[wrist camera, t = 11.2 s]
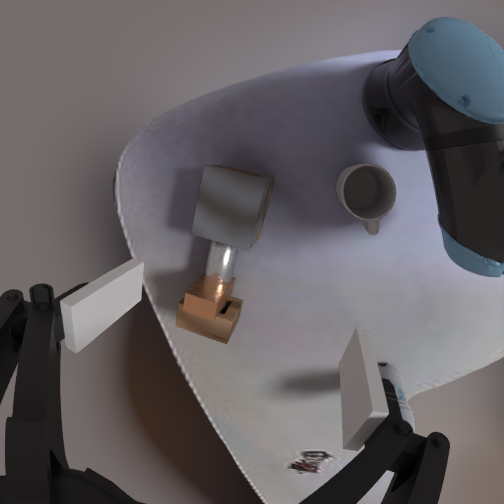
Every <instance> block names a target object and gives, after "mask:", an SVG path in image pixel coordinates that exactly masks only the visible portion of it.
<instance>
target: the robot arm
mask: <svg viewBox="0 0 504 504" xmlns="http://www.w3.org/2000/svg"><path fill="white" fill-rule="evenodd" d="M363 105H364V109H365V113H366V115H367V118H368V120H369V122H370V123H371V125H372V126H373V128H374V129H375V130H376V132H377V133H378V134H379V135H380V136H381V137H382V138H383V139H385V140H386V141H387V142H389V143H390V144H392V145H394V146H396V147H398V148H401V149H404V150H410V151H420V150H426V154H427V158H428V162H429V167H430V171H431V175H432V180H433V185H434V190H435V195H436V200H437V206H438V212H439V214H438V223H439V226H440V228H441V231H442V237H443V243H444V247H445V250H446V252H447V254H448V256H449V257H450V258H451V260H452V261H453V262H455V263H456V264H457V265H458V266H460V267H461V268H463V269H465V270H467V271H470V272H472V273H475V274H478V275H483V276H488V277H500V276H501V274H504V51H503V50H502V49H501V47H500V46H499V45H498V44H497V43H496V42H495V41H494V40H493V39H492V38H491V37H490V36H489V35H486V34H484V33H483V32H482V31H481V30H480V29H479V28H478V27H476V26H474V25H472V24H470V23H468V22H466V21H463V20H460V19H456V18H449V17H442V18H436V19H433V20H431V21H429V22H427V23H426V24H425V25H423V26H422V27H421V28H420V29H419V30H418V31H416V32H415V33H413V35H412V36H411V38H410V40H409V42H408V43H407V45H406V46H405V47H404V49H403V50H402V51H401V53H400V54H399V56H398V57H397V58H395V59H390V60H387V61H384V62H382V63H381V64H379V65H378V66H376V67H375V68H374V69H373V70H372V72H371V73H370V75H369V76H368V78H367V80H366V82H365V85H364V88H363ZM143 268H144V261H141V260H138V259H135V258H133V259H131V260H130V261H128V262H126V263H124V264H122V265H121V266H119V267H117V268H115V269H114V270H112V271H110V272H108V273H107V274H105V275H103V276H101V277H99V278H98V279H96V280H94V281H93V282H91V283H83V284H79V285H77V286H76V287H74V288H73V289H70V290H69V291H68V292H65V293H64V294H62V295H60V296H58V297H57V298H55V299H54V293H53V288H52V287H51V286H50V285H48V284H36V285H34V286H32V287H31V288H30V289H29V292H30V299H31V302H28V301H24V298H23V293H22V292H21V291H19V290H14V289H12V290H8V291H6V292H4V293H3V294H2V296H1V297H0V404H1V401H2V399H3V396H4V394H5V391H6V389H7V387H8V384H9V382H10V379H11V377H12V375H13V372H14V371H15V368H16V366H17V364H18V369H17V376H16V384H15V392H14V402H13V414H12V417H8V418H7V420H6V431H5V469H6V475H4V476H0V504H145V503H141V502H137V501H135V500H134V499H133V498H131V497H130V496H129V495H127V494H126V493H125V492H124V491H123V490H121V489H120V488H119V487H118V486H117V485H115V484H114V483H113V482H112V481H110V480H108V479H106V478H105V477H103V476H101V475H100V474H98V473H96V472H95V471H93V470H91V469H90V468H87V469H86V471H85V472H83V471H80V470H75V469H70V468H69V466H68V463H67V460H66V456H65V450H64V441H63V432H62V419H61V399H60V356H61V344H60V341H61V340H62V339H64V338H65V343H66V347H67V348H69V349H70V350H72V351H73V352H75V353H78V352H79V351H80V350H82V349H83V348H84V347H85V346H86V345H87V344H89V343H90V342H91V341H92V340H93V339H95V338H96V337H97V336H98V335H99V334H100V333H102V332H103V331H104V330H105V329H106V328H108V327H109V326H110V325H111V324H112V323H114V322H115V321H116V320H117V319H119V318H120V317H121V316H122V315H123V314H124V313H126V312H127V311H128V310H129V309H131V308H132V307H133V306H134V305H136V304H137V303H138V302H139V301H140V300H141V292H142V280H143ZM18 362H19V363H18ZM339 374H340V388H341V405H342V429H343V449H348V450H356V451H358V450H359V449H360V448H361V447H362V446H363V445H364V444H365V448H364V449H363V450H362V451H361V452H360V453H359V454H358V455H357V456H356V457H355V458H354V459H353V460H352V461H351V462H349V463H348V464H347V465H346V466H345V467H344V468H343V469H342V470H341V471H339V472H338V473H337V474H336V475H335V476H334V477H332V478H331V479H330V480H329V481H328V482H326V483H325V484H324V485H323V486H321V487H320V488H319V489H318V490H316V491H315V492H314V493H312V494H311V495H310V496H308V497H307V498H306V499H304V500H303V501H302V502H300V503H299V504H356V503H357V502H358V501H359V500H360V499H361V498H362V497H363V496H364V495H365V494H366V493H367V492H368V491H369V490H370V489H371V488H372V487H373V486H374V484H375V483H376V482H377V481H378V480H379V479H380V478H381V477H382V475H383V474H384V473H385V472H386V471H387V470H389V471H392V472H395V473H394V476H393V478H392V480H391V483H390V485H389V487H388V489H387V492H386V494H385V496H384V498H383V500H382V502H381V504H438V500H439V497H440V493H441V489H442V485H443V480H444V476H445V471H446V466H447V461H448V455H449V449H450V442H449V440H448V438H447V437H446V436H445V435H443V434H442V433H439V432H432V433H431V434H429V435H428V437H427V438H426V437H423V436H420V435H417V434H415V433H414V431H413V428H412V426H411V425H410V424H409V423H408V422H407V421H405V420H403V418H402V414H401V410H400V406H399V402H398V401H397V400H398V399H397V395H396V391H395V388H394V386H393V384H392V383H391V381H390V380H389V379H385V378H381V376H380V372H379V368H378V364H377V360H376V356H375V353H374V349H373V345H372V342H371V338H370V335H369V331H368V330H366V329H362V328H358V327H356V329H355V331H354V333H353V335H352V338H351V340H350V342H349V344H348V346H347V348H346V350H345V352H344V354H343V356H342V358H341V360H340V362H339Z"/></svg>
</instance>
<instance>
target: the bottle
mask: <svg viewBox="0 0 504 504" xmlns="http://www.w3.org/2000/svg"><path fill="white" fill-rule="evenodd" d="M378 368H379V372H380V376H381V378H385V379H389V380H390V381H391V383H392V384H393V386H394V388H395V391H396V395H397V399H398V400H397V401H398V402H399V406H400V410H401V414H402V418H403V420H405V421H407V422H408V423H409V424H410V425H411V426H412V428H413V431H414V429H415V428H414V416H413V413H412V410H411V408H410V407H409V406H408V403H407V400H406V396H405V393H404V390H403V387H402V382H401V377H400V374H399V371H398V370H397V369H396V368H395V367H393V366H392V365H390V364H386V366H384V367H382V366H380V365H379V366H378Z"/></svg>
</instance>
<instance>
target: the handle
mask: <svg viewBox="0 0 504 504" xmlns="http://www.w3.org/2000/svg"><path fill="white" fill-rule="evenodd" d="M238 250H239V248H237V247H233V246H230V245H226V244H223V243H220V242H216V241H213V240H211V244H210V249H209V254H208V259H207V264H206V270H205V274H204V275H203V276H202V277H201V278H200V279H199V280H198V281H197V282H196V283H195V284H194V285H193V286H192V287H191V288H190V289H189V290H188V291H187V292H186V293H185V299H184V305H183V311H185V312H188V313H191V314H194V315H197V316H199V317H202V318H205V319H208V320H211V321H214V320H215V319H216V317H217V315H218V314H219V313H221V314H224V310H225V306H226V302H227V300H228V298H229V297H230V295H231V294H232V290H233V286H234V281H235V278H233V277H232V275H233V271H234V267H235V262H236V258H237V254H238Z"/></svg>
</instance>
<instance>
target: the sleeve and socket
mask: <svg viewBox="0 0 504 504" xmlns="http://www.w3.org/2000/svg"><path fill="white" fill-rule="evenodd" d="M273 182H274V178H271V177H268V176H264V175H260V174H256V173H252V172H247V171H243V170H239V169H235V168H231V167H226V166H222V165H205V166H204V171H203V175H202V180H201V185H200V190H199V195H198V200H197V205H196V210H195V215H194V220H193V226H192V231H191V234H192V235H196V236H199V237H202V238H206V239H209V240H213V241H216V242H220V243H223V244H226V245H230V246H233V247H237V248H240V249H243V250H247V251H249V249H250V248H251V247H252V246H253V244H254V243H255V242H256V240H259V237H260V233H261V230H262V226H263V222H264V218H265V214H266V210H267V206H268V202H269V198H270V194H271V190H272V186H273ZM184 299H185V297H184V298H183V299H182V300H181V301H180V302H179V303H178V310H177V318H176V326H177V327H180V328H183V329H185V330H188V331H191V332H193V333H196V334H199V335H202V336H205V337H207V338H210V339H213V340H216V341H219V342H222V343H225V344H227V342H228V340H229V338H230V336H231V334H232V332H233V330H234V328H235V326H236V324H237V322H238V319H239V315H240V311H241V308H242V304H243V300H240V299H237V298H234V297H231V296H230V297H229V298H228V300H227V302H226V306H225V310H224V314H221V313H219V314H218V315H217V317H216V319H215V320H214V321H211V320H208V319H205V318H202V317H199V316H197V315H194V314H191V313H188V312H185V311H183V305H184Z"/></svg>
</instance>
